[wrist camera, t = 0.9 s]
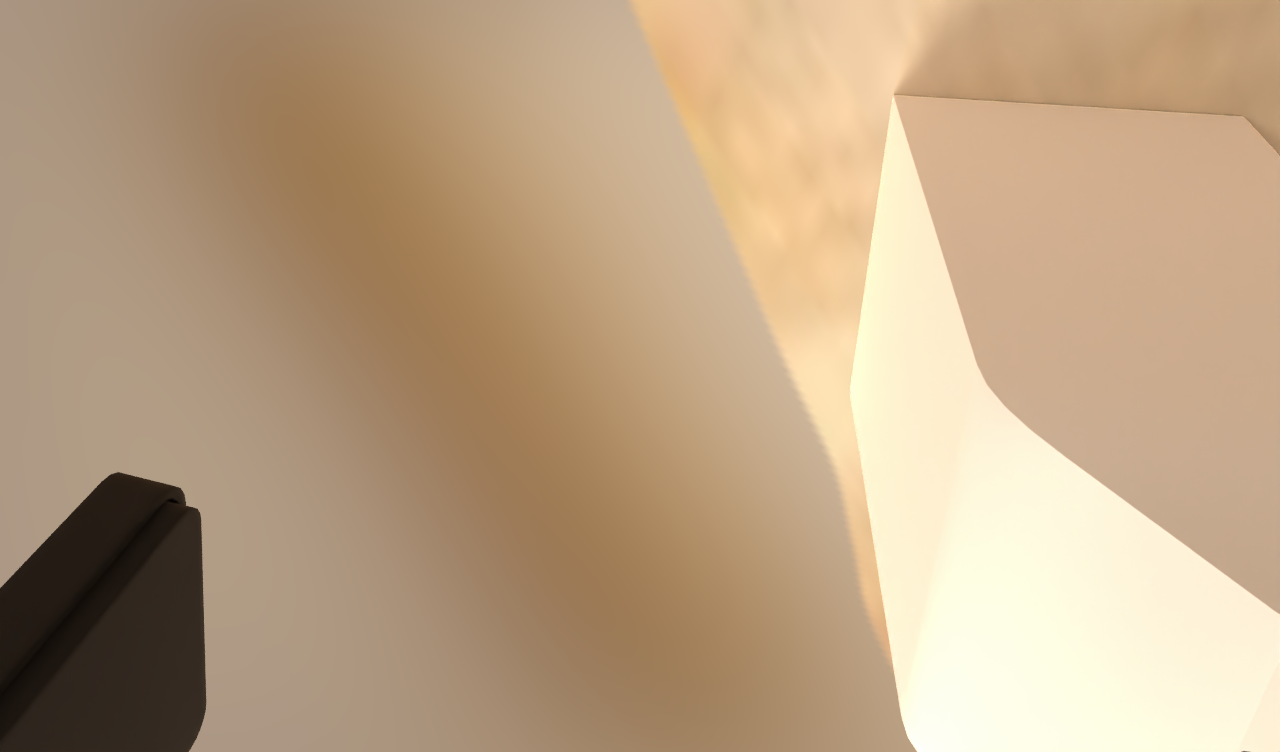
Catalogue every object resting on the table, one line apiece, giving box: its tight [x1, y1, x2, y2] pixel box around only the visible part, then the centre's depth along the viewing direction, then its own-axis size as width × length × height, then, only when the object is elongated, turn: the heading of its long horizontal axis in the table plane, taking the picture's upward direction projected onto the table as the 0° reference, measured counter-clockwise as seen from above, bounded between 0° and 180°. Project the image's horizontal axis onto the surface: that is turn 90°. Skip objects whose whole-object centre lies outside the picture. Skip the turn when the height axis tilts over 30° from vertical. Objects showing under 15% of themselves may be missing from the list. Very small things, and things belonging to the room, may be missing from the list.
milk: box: [850, 95, 1280, 752], centre depth 28 cm, size 12×12×26 cm
